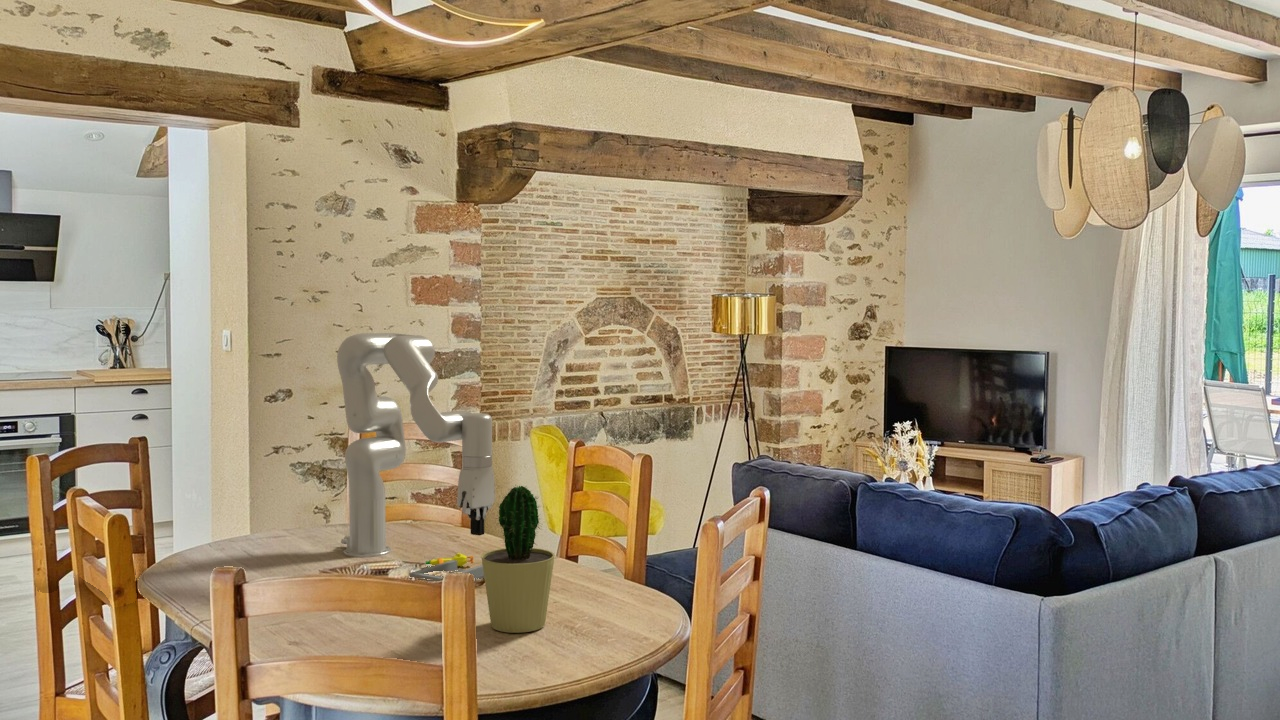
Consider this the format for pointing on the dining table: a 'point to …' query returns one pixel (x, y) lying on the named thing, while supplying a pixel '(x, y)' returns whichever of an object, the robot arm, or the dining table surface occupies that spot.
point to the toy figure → (458, 557)
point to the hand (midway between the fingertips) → (477, 534)
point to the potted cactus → (518, 568)
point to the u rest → (447, 566)
